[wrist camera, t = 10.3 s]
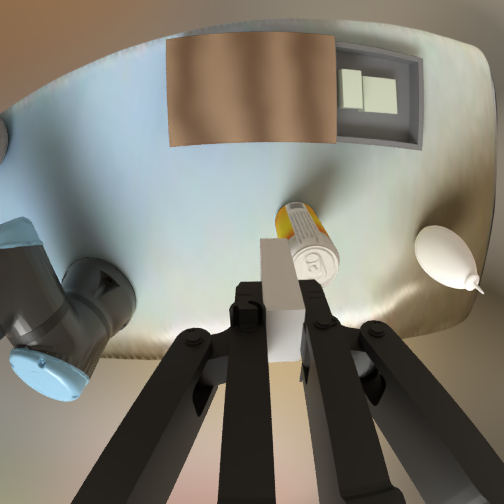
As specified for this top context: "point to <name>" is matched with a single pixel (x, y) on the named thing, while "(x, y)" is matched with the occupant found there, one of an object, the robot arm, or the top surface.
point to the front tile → (349, 89)
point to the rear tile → (378, 95)
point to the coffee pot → (3, 140)
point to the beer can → (308, 243)
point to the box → (407, 92)
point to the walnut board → (251, 88)
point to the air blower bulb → (446, 258)
